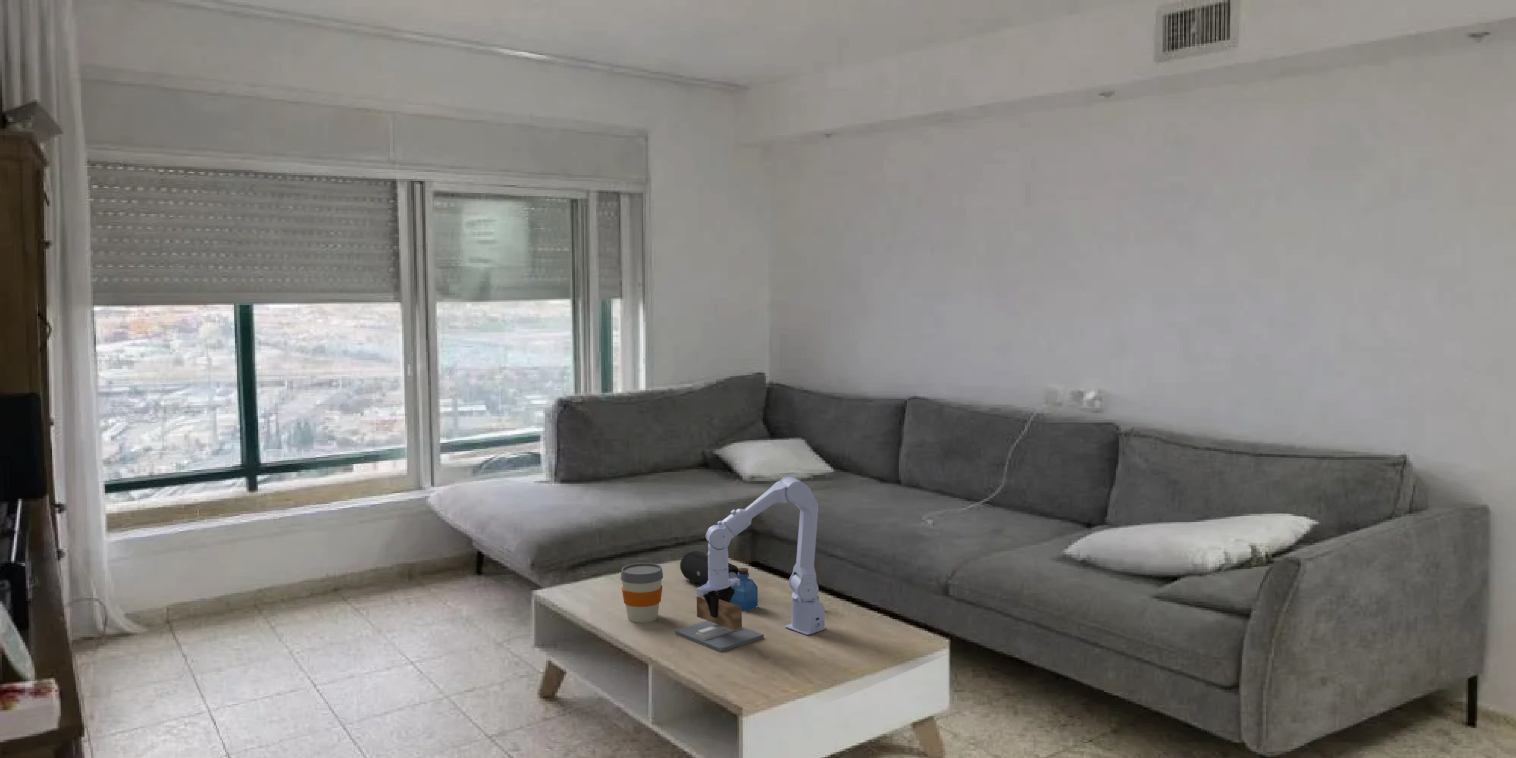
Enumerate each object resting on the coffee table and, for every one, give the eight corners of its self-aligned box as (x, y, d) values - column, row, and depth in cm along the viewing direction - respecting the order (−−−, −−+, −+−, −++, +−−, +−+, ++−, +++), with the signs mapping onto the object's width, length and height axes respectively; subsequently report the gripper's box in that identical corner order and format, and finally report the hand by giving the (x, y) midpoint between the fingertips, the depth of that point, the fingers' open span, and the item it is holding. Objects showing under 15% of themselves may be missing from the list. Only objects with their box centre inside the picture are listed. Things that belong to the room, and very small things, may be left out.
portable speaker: (677, 581, 349) (677, 551, 348) (702, 575, 355) (702, 547, 354) (720, 600, 328) (719, 569, 327) (746, 594, 334) (745, 563, 333)
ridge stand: (763, 637, 293) (763, 627, 293) (720, 652, 282) (720, 641, 282) (717, 620, 308) (717, 611, 308) (674, 633, 297) (674, 623, 297)
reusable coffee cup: (656, 625, 304) (655, 575, 303) (615, 623, 307) (614, 573, 305) (668, 612, 316) (668, 563, 315) (629, 609, 319) (628, 561, 317)
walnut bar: (741, 627, 290) (741, 606, 289) (733, 630, 288) (733, 609, 287) (704, 614, 302) (704, 594, 301) (696, 616, 300) (696, 596, 299)
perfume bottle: (745, 611, 316) (745, 573, 315) (729, 608, 320) (729, 570, 318) (757, 606, 321) (757, 568, 320) (741, 602, 325) (741, 565, 323)
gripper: (728, 560, 301) (728, 606, 302) (689, 570, 291) (689, 617, 293) (744, 565, 296) (745, 611, 297) (705, 575, 286) (706, 623, 287)
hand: (718, 615), depth 295 cm, fingers closed on walnut bar, 3 cm apart
